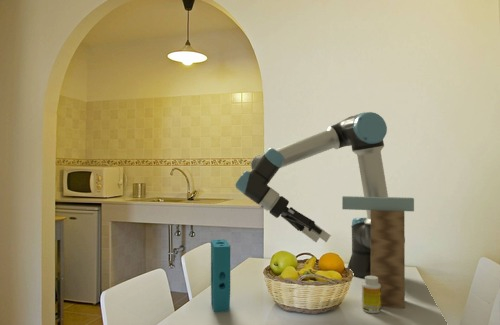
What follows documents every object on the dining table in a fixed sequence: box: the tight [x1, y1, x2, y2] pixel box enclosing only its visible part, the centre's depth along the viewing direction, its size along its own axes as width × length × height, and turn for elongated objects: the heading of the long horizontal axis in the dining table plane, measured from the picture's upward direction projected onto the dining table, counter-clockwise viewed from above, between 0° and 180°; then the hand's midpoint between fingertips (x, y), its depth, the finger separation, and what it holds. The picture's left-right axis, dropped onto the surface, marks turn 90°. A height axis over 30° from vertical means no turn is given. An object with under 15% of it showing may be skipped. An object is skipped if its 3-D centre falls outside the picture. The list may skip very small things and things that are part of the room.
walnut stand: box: [371, 210, 406, 309], centre depth 130 cm, size 10×8×30 cm
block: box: [210, 239, 231, 313], centre depth 126 cm, size 12×5×20 cm, turn 11°
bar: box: [341, 195, 415, 212], centre depth 131 cm, size 22×4×4 cm, turn 74°
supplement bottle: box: [361, 276, 382, 314], centre depth 122 cm, size 6×6×10 cm
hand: (323, 239), depth 141 cm, fingers open, 13 cm apart
